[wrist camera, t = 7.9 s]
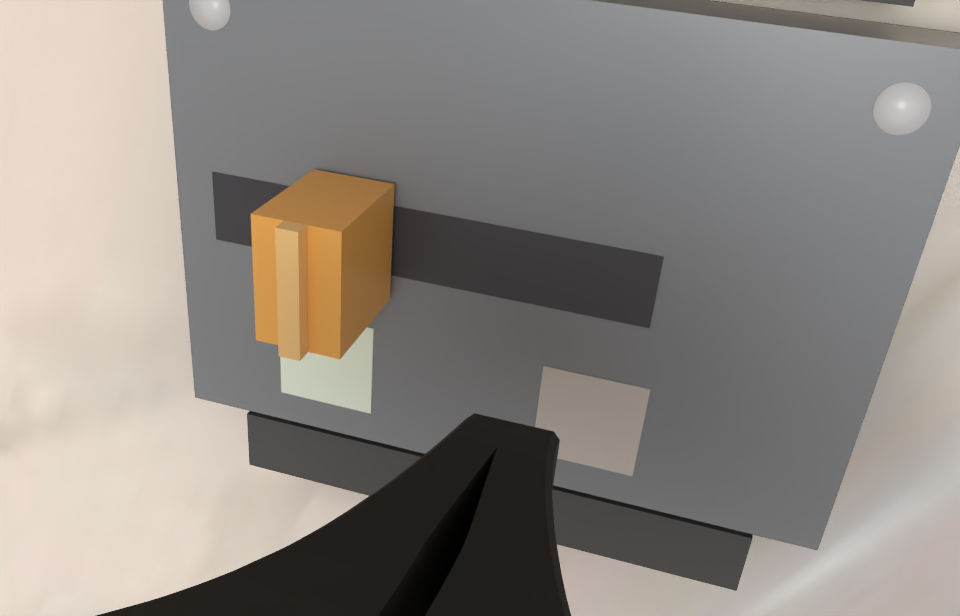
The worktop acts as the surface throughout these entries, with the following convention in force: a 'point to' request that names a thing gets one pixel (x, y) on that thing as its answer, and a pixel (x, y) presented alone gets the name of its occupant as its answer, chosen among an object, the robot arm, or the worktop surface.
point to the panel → (580, 227)
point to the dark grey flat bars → (575, 513)
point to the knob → (321, 263)
